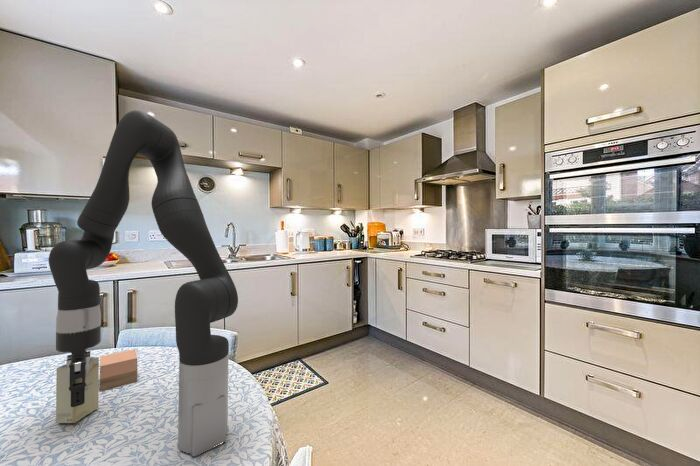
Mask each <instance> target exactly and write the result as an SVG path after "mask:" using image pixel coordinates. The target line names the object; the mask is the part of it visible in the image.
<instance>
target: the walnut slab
mask: <svg viewBox="0 0 700 466" xmlns="http://www.w3.org/2000/svg"><path fill="white" fill-rule="evenodd" d="M137 382H138V369H137V370H136V371H132V372H128V373H124V374H120V375H116V376H112V377H107V378H103V379H100V378H99V392H104V391H108V390H111V389H116V388H119V387H123V386H126V385H130V384H133V383H134V384H135V383H137Z"/></svg>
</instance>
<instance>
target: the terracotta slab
mask: <svg viewBox="0 0 700 466" xmlns="http://www.w3.org/2000/svg"><path fill="white" fill-rule="evenodd" d="M136 351H137V350H136V349H134V348H133V349H129V350H125V351H119V352H114V353H113V352H112V353H109V354H105V355H101V356H100V357H99V362H100V363H99V380H100V379H103V378H107V377H112V376H116V375H120V374H124V373H128V372H132V371H136V370H137V371H138V355H137V352H136Z"/></svg>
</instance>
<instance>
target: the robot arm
mask: <svg viewBox="0 0 700 466" xmlns="http://www.w3.org/2000/svg"><path fill="white" fill-rule="evenodd" d="M137 154H138V155H141V156H143V157H145V158H147V159H148V160H149V161H150V164H151V166H152V167H153V169H154V172H155V175H156V178H157V179H156V180H157V183H156V187H155V189H154V192H153V194H152V197H151V210H152V213H153V216H154V219H155V221H156V224H157V227H158V229H159V232H160V233H161V235H162V237H164V239H165V240H166V241H167V242H168V243H169V244H170V245H171V246H173V248H175V249H176V250H177V251H178V252H179V253H181V254H182V255H183V256H184V257H185V259H187V260H188V261H189V262H190V264H191V265H192V266H193V269H195V272H196V273H197V276H198V277H199V279H196V280H191V281H187V282H185V283H183V284H182V285H181V286H180V287H179V288H178V290H177V291H176V295H175V299H174V323H175V325H174V326H175V343H176V347H177V351H178V353H179V355H178V356H179V358H178V359H179V360H178V364H179V365H178V371H179V372H178V405H177V406H178V408H177V409H178V410H177V411H178V412H177V413H178V416H177V417H178V418H177V420H178V421H177V423H178V425H177V426H178V427H177V429H178V431H177V434H178V435H177V446H178V450H179V451H180V452H182V451H183V452H182V453H184V452H186V453H185V454H188V453H190V454H189V455H190V456H191V457H192V456H195V457H197V456H199V455H201V453H202V452H204V453H206V452H208V451H210V450H212V449H211V448H213V447H214V446H216V445H218V444H220V443H222V442H225V441H227V440H226V439H227V435H228V418H229V417H228V413H229V412H228V410H229V409H228V408H229V405H228V403H229V359H230V358H229V350H230V343H229V340H228V338H226V337H225V336H223V335H218V334H211V333H212V332H211V323H215V322H218V321H221V320H224V319H226V318H229V317H231V316H233V314H234V313H235V312H236V311H237V309H238V306H239V305H238V304H239V296H238V295H239V294H238V291H237V288H236V285H235V282H234V280H233V279H232V277H231V274H230V272H229V271H228V269H227V267H226V266H225V263H224V261H223V260H222V257H221V256H220V254H219V251H218V249H217V247H216V244H215V241H214V240H213V238H212V236H211V233H210V230H209V228H208V225H207V222H206V220H205V217H204V213H203V210H202V208H201V206H200V203H199V201H198V198H197V197H196V193H195V192H194V189H193V186H192V183H191V181H190V177H189V175H188V173H187V171H186V167H185V163H184V159H183V155H182V154H183V153H182V150H181V146H180V144H179V139H178V137H177V135H176V133H175V131H173V129H171V128H170V127H169V126H167V125H166V124H165V123H163V122H161V121H160V120H158V119H157V118H155V117H154V116H152V115H150V114H148V113H147V112H145V111H143V110H138V109H134V110H130V111H127V112H126V113H125V114H124V115H123V116H122V117H121V118H120V120H119V121H118V123H117V125H116V127H115V129H114V131H113V135H112V138H111V141H110V143H109V147H108V149H107V152H106V156H105V160H104V162H103V164H102V168H101V172H100V175H99V178H98V180H97V183H96V185H95V187H94V189H93V191H92V193H91V195H90V196H89V199H88V200H87V202H86V204H85V206H84V207H83V210H81V213H80V215H79V216H78V219H77V222H76V225H77V226H78V228H79V229H81V230H82V231H83V234H82V237H81V238H80V239H69V240H61V241H60V242H57V243H55V245H54V246H53V247H52V248H51V250H50V252H49V255H48V266H49V269H50V273H51V275H52V279H53V282H54V283H55V287H56V288H57V292H58V294H57V314H56V320H55V350H56V351H57V352H58V353H64V354H65V353H70V354H68V355H66V356H67V358H66V363H65V364H66V365H67V367H68V374H67V378H68V380H70V387H69V390H70V391H71V407H76V406H79V405H82V404H84V401H85V386H86V383H85V378H86V376H88V374H89V362H90V357H91V350H89V351H87V349H90V348H93V347H95V346H97V345H99V344H100V342H101V338H102V337H101V336H102V335H101V332H102V331H101V329H102V311H101V308H100V307H101V305H100V300H101V299H100V295H101V293H100V292H101V287H100V283H99V282H98V281H96V280H93V279H90V278H89V276H88V273H87V270H91V269H95V268H97V267H100V266H101V265H103V263H105V261H106V260H107V259H108V257H109V255H110V253H111V250H112V245H113V241H114V238H115V232H116V229H117V228H118V227H119V225H120V223H121V221H122V219H123V218H124V216H125V214H126V212H127V210H128V207H129V203H130V183H129V177H130V169H131V165H132V163H133V161H134V159H135V158H136V156H137ZM85 361H86V362H85ZM85 364H86V370H85ZM79 378H82V382H80V383H76V384H73V380H75V379H79ZM226 434H227V435H226ZM225 443H226V442H225ZM209 449H210V450H209ZM213 449H214V448H213ZM207 450H208V451H207ZM205 451H206V452H205ZM202 454H203V453H202ZM196 455H197V456H196Z"/></svg>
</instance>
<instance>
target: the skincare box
mask: <svg viewBox="0 0 700 466" xmlns="http://www.w3.org/2000/svg"><path fill="white" fill-rule="evenodd" d="M85 362H86V361H85ZM99 362H100V357H99V356H96V357H95V356H90V362H89V374H88V376H86V378H85V383H86V386H85V401H84V404H82V405H79V406H76V407H71V391H70V390H69V387H70V380H68V378H67V374H68V367H67V365H66V363H65V364H63V365H62V366H59V367H56V380H55V381H56V384H55V386H56V392H55V398H56V399H55V404H56V406H55V423H56V424H75V423H77V422H78V421H80V420H81V419H83V418H85V417H86V416H87V415H89V414H90V413H92V412H94V411H95V410H97V409H98V408H99V392H100V363H99ZM85 370H86V364H85ZM80 382H82V378H79V379H75V380H73V384H76V383H80Z"/></svg>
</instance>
